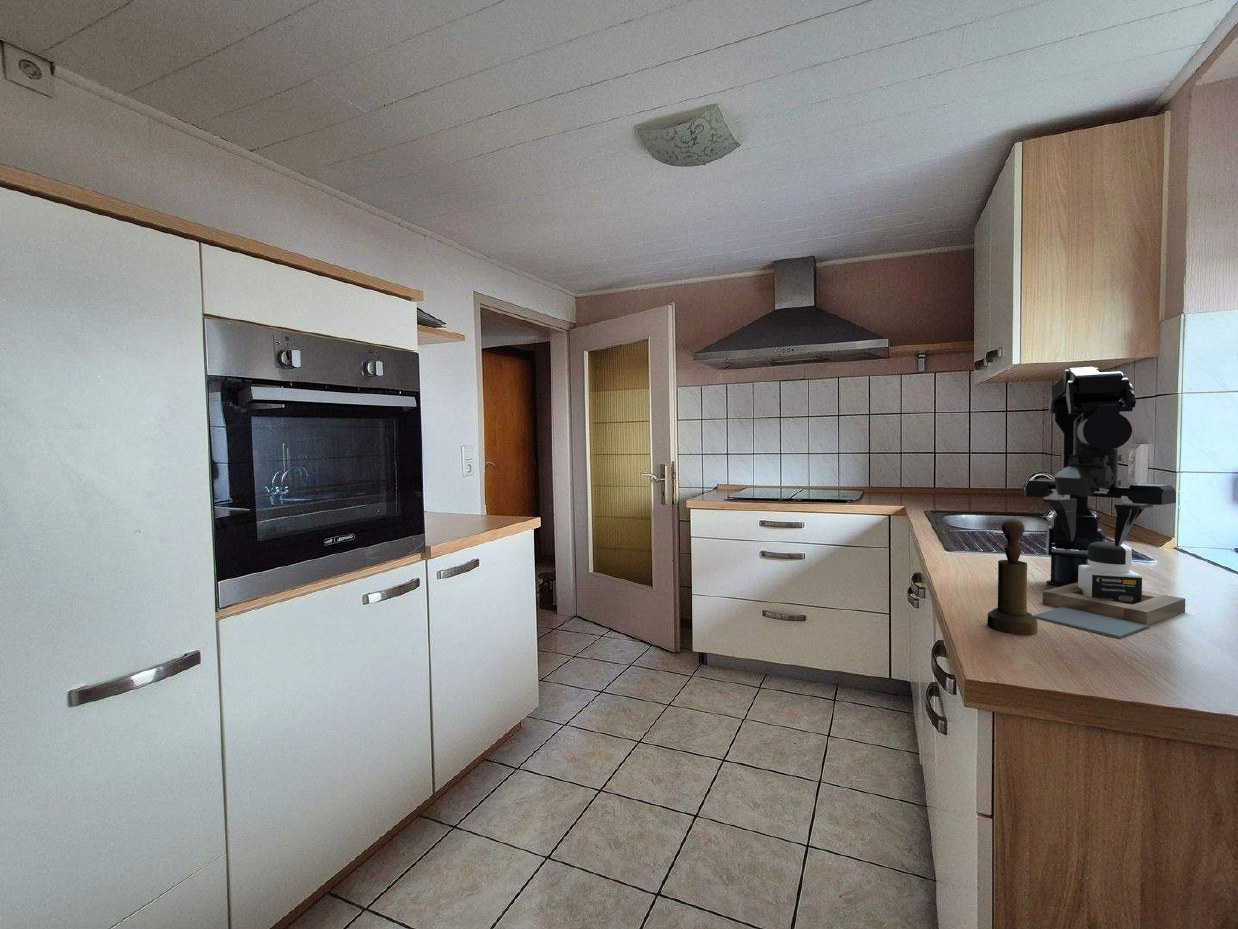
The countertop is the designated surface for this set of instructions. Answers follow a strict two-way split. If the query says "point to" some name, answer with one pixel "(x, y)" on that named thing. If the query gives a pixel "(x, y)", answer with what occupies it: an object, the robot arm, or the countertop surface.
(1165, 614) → the brown flat square frame
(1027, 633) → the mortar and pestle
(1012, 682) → the countertop surface
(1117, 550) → the medicine bottle
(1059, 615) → the mat
